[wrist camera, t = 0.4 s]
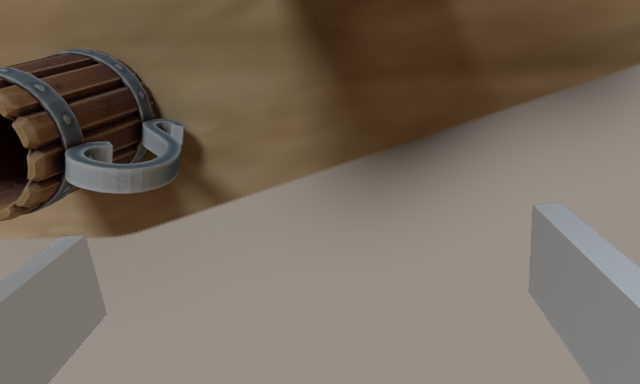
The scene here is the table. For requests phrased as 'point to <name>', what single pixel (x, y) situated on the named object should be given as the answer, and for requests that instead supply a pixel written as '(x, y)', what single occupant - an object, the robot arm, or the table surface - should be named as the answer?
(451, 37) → the table surface
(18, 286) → the robot arm
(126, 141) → the mug
